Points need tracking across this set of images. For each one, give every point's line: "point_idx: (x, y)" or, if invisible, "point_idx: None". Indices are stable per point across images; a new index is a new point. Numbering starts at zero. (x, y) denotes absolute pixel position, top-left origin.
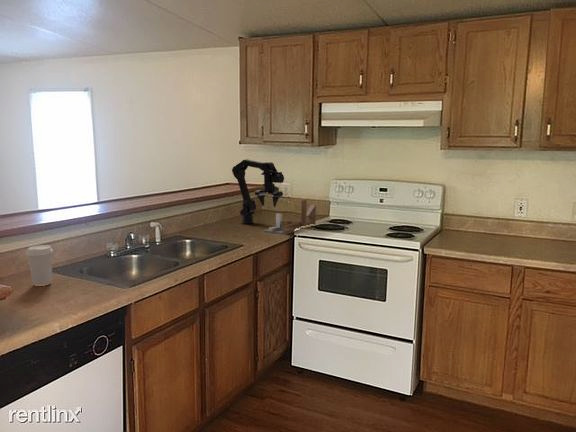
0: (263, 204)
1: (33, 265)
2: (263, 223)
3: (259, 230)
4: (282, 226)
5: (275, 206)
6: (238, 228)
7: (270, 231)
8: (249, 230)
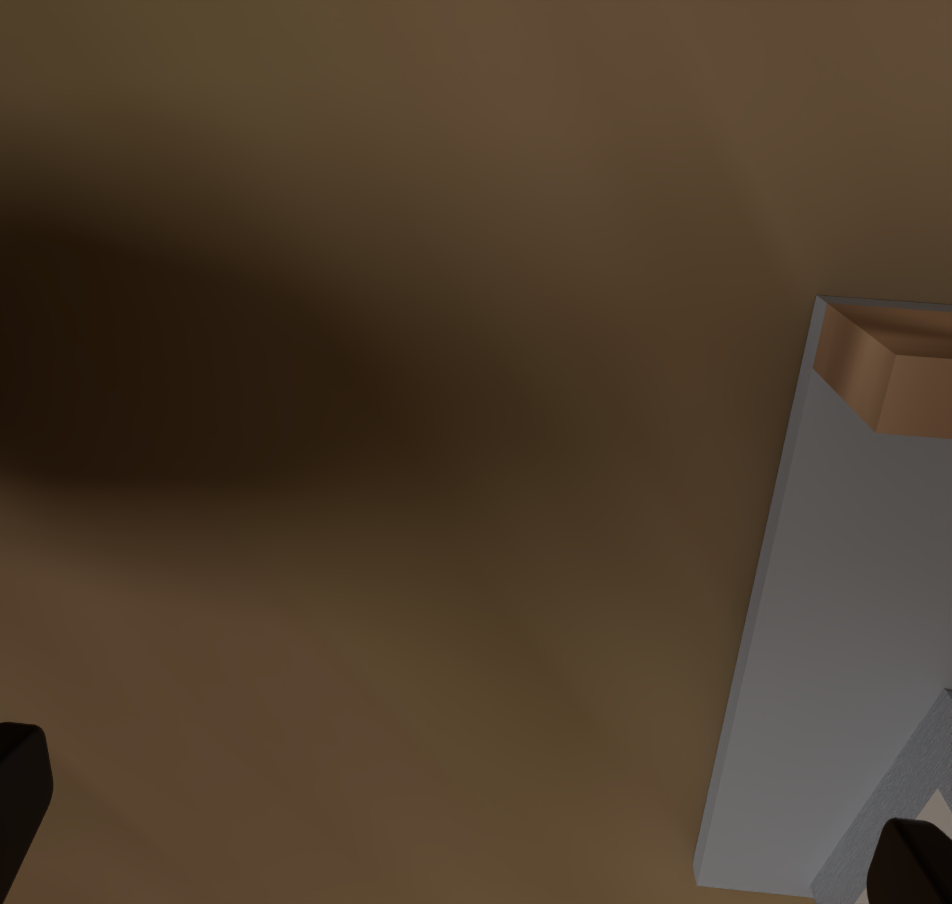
0: (1, 829)
1: None
2: (99, 88)
3: (571, 824)
4: None
5: (947, 839)
6: (111, 834)
7: None
8: (405, 888)
